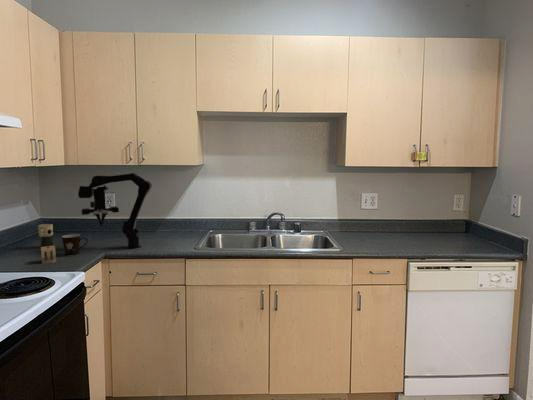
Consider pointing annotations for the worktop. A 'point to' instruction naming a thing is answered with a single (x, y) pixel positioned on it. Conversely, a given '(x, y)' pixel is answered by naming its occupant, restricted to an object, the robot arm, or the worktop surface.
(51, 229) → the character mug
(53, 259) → the numbered maple block
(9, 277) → the worktop surface
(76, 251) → the coffee mug
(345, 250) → the worktop surface
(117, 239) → the worktop surface
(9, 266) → the worktop surface
